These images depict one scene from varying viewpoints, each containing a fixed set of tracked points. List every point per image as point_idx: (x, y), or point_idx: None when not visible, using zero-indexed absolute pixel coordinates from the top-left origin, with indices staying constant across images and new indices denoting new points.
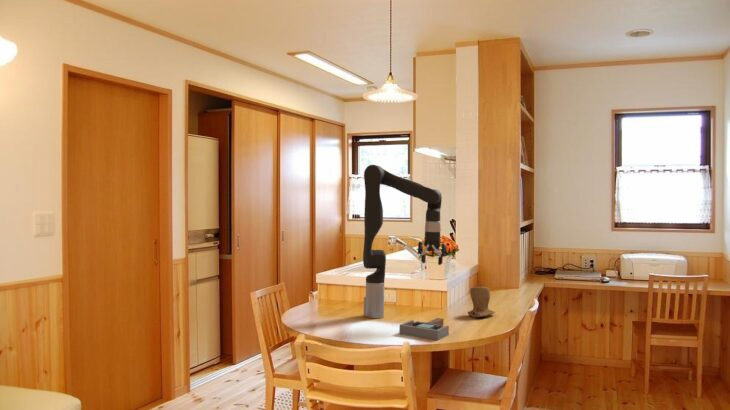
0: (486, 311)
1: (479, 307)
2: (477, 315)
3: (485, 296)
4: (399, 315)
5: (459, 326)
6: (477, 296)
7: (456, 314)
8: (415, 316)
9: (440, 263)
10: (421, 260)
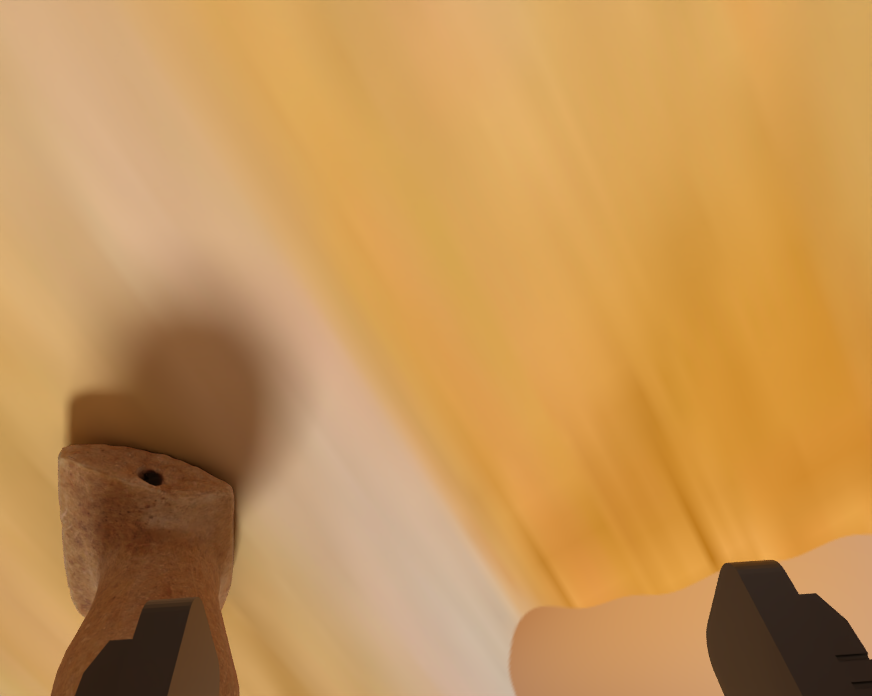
0: (83, 555)
1: (126, 559)
2: (99, 452)
3: (57, 672)
4: (768, 115)
5: (10, 59)
6: (113, 636)
7: (336, 463)
8: (606, 180)
9: (118, 646)
10: (849, 628)
